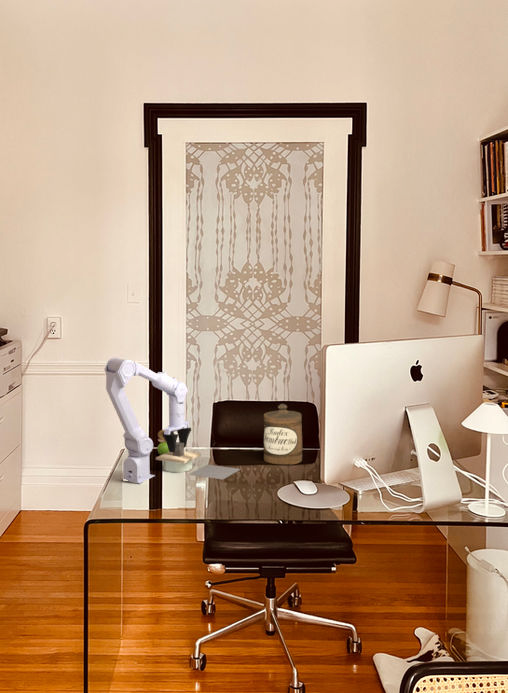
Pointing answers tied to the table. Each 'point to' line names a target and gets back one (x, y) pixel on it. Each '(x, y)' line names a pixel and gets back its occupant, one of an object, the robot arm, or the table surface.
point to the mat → (214, 472)
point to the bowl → (177, 466)
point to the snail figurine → (162, 444)
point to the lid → (178, 455)
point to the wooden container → (283, 436)
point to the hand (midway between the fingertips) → (177, 449)
